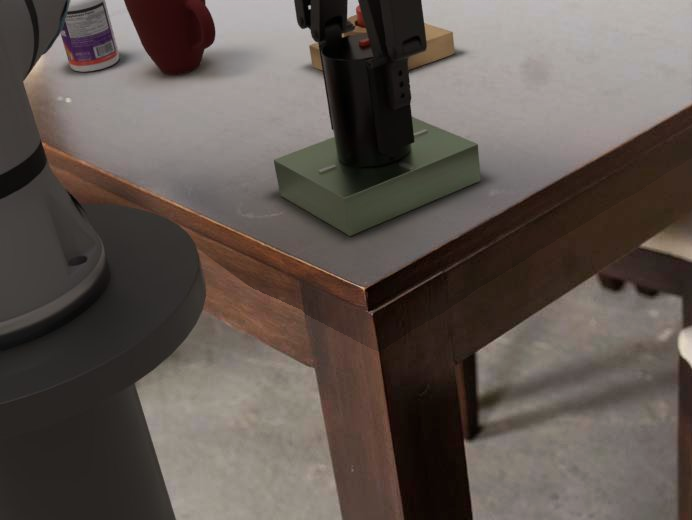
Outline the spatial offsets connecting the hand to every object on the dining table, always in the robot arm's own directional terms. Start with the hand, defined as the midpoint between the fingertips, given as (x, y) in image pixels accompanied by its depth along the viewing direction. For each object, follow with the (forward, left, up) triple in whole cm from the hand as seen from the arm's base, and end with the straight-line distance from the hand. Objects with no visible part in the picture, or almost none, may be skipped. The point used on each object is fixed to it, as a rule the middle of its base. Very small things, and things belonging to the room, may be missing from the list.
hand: (372, 135), depth 82 cm
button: (+17, +24, -1) cm, 29 cm away
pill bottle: (-3, +50, -5) cm, 50 cm away
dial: (0, 0, -1) cm, 1 cm away
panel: (0, 0, -4) cm, 4 cm away
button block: (+17, +24, -4) cm, 30 cm away
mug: (+3, +39, -5) cm, 39 cm away
